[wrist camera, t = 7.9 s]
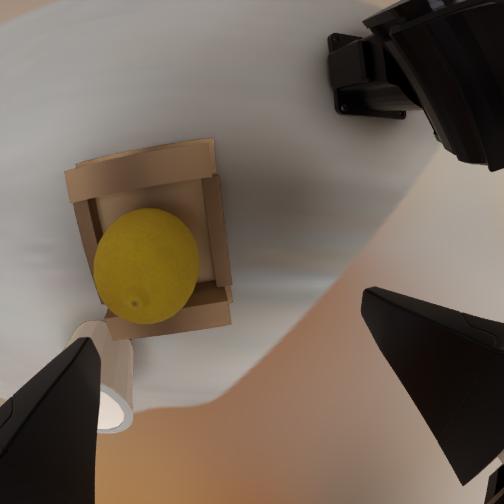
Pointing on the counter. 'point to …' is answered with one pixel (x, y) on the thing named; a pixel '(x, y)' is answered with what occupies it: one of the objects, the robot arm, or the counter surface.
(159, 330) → the cradle
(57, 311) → the counter surface
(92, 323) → the shot glass
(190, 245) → the lemon
